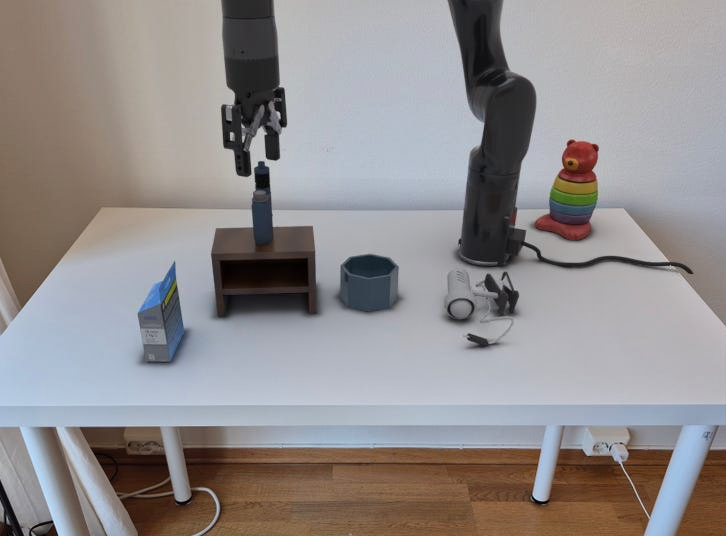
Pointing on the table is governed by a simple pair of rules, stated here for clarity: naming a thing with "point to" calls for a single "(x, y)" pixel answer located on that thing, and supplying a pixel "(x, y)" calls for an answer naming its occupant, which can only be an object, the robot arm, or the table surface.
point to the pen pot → (369, 282)
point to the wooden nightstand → (264, 264)
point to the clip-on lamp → (463, 297)
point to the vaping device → (262, 206)
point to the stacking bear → (573, 193)
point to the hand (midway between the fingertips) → (259, 167)
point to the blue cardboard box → (161, 319)
